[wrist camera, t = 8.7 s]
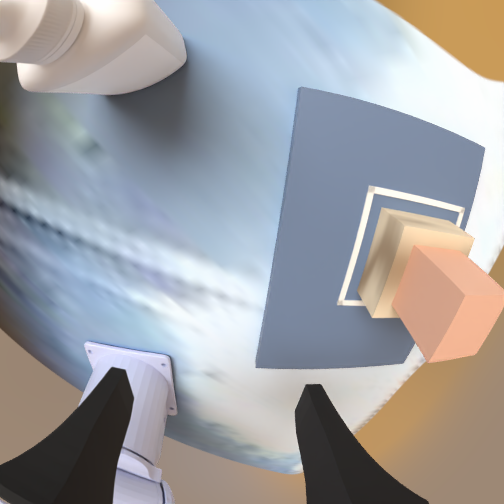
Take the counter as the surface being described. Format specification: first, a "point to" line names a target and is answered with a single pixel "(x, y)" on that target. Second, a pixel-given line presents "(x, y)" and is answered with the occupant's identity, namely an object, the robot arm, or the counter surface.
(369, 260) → the base block
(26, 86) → the eye dropper bottle
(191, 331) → the counter surface
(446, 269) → the top block
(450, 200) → the board
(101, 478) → the robot arm
